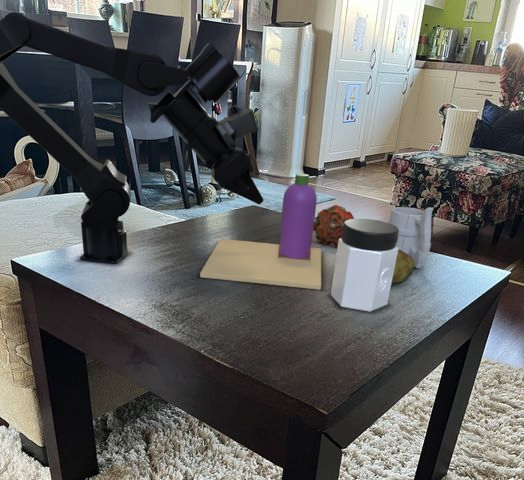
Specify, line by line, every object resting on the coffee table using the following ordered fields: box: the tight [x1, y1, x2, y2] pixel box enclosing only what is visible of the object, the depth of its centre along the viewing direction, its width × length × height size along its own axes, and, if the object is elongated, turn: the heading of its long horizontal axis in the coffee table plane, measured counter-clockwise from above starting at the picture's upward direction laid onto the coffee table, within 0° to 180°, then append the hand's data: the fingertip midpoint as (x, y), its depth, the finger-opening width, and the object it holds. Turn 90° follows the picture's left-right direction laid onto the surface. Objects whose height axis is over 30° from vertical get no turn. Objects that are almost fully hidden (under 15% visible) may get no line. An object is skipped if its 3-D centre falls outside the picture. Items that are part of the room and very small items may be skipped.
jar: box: [330, 218, 399, 313], centre depth 81 cm, size 9×8×12 cm
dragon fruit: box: [313, 204, 355, 248], centre depth 109 cm, size 8×8×12 cm
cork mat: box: [199, 238, 322, 291], centre depth 96 cm, size 20×20×1 cm
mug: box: [388, 206, 434, 269], centre depth 99 cm, size 8×12×12 cm, turn 17°
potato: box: [391, 249, 415, 285], centre depth 91 cm, size 8×13×8 cm, turn 92°
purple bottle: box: [278, 173, 318, 259], centre depth 97 cm, size 6×6×14 cm
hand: (256, 196), depth 94 cm, fingers open, 9 cm apart
